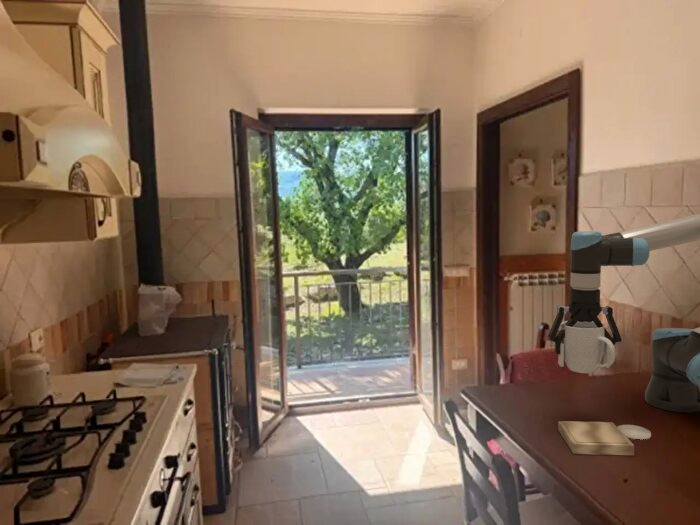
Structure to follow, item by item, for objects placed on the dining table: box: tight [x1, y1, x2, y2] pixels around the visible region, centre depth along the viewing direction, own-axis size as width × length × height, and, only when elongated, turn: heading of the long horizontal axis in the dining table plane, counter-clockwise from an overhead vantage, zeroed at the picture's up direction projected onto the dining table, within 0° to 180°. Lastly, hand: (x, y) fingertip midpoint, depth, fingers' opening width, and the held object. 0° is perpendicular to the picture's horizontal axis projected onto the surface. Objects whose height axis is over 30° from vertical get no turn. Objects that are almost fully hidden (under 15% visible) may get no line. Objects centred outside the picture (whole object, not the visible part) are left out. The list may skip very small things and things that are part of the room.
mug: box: [560, 320, 616, 374], centre depth 141 cm, size 15×11×13 cm
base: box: [557, 420, 635, 456], centre depth 132 cm, size 14×14×3 cm
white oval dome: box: [617, 424, 652, 441], centre depth 137 cm, size 8×8×1 cm
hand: (583, 366), depth 143 cm, fingers closed on mug, 11 cm apart
